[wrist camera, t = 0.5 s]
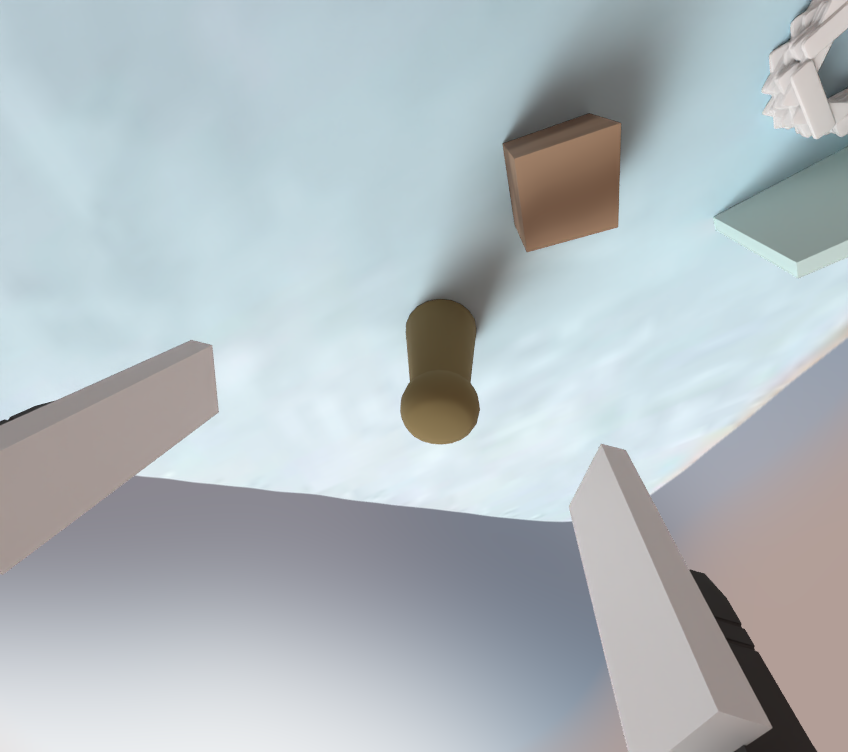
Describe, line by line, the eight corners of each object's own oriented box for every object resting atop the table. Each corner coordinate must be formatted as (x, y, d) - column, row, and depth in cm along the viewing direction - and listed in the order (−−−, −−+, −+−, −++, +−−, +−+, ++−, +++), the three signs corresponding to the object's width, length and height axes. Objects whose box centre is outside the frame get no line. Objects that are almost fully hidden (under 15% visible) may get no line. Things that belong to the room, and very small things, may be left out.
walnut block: (502, 143, 22) (514, 158, 18) (588, 113, 21) (620, 123, 17) (514, 224, 25) (526, 252, 21) (590, 202, 24) (618, 227, 20)
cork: (486, 308, 29) (503, 403, 21) (464, 364, 33) (471, 464, 25) (413, 291, 28) (400, 383, 20) (399, 351, 32) (384, 448, 24)
